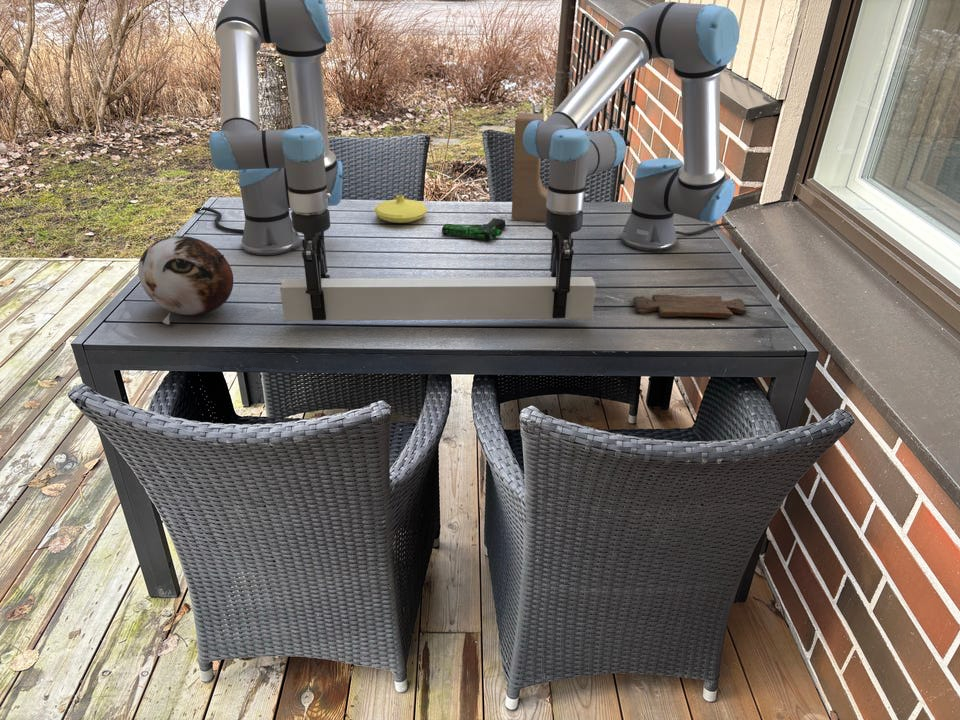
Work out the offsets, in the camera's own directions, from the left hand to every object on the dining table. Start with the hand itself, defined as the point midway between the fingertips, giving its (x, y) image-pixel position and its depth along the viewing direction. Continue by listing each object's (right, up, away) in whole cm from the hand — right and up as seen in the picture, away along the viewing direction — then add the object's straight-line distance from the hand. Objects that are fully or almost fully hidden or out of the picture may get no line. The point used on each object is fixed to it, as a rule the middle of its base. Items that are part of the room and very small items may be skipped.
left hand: (321, 313), depth 155 cm
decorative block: (+52, +33, +64) cm, 89 cm away
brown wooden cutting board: (+83, +2, +12) cm, 84 cm away
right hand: (+51, +1, +3) cm, 52 cm away
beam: (+26, 0, +2) cm, 26 cm away
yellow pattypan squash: (+11, +32, +61) cm, 70 cm away
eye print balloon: (-31, +1, +7) cm, 31 cm away
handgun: (+33, +27, +53) cm, 68 cm away
